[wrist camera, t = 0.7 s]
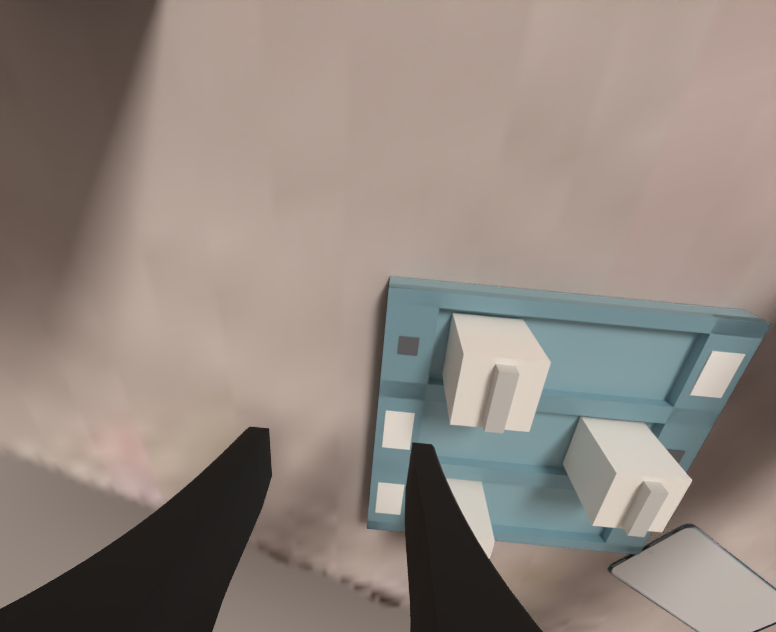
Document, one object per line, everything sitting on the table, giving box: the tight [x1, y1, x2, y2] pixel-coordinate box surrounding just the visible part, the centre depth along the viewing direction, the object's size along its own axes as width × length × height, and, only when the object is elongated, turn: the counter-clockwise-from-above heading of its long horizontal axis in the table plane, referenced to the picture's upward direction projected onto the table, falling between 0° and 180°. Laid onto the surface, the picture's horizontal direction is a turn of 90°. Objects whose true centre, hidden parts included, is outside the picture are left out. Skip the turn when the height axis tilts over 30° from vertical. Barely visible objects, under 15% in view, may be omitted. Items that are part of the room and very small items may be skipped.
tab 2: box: [442, 313, 551, 433], centre depth 18 cm, size 4×4×5 cm
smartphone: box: [608, 524, 776, 632], centre depth 29 cm, size 7×1×15 cm
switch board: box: [367, 276, 771, 555], centre depth 22 cm, size 18×17×2 cm
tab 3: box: [563, 416, 692, 537], centre depth 20 cm, size 4×4×5 cm
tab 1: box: [446, 478, 495, 559], centre depth 22 cm, size 4×4×5 cm
